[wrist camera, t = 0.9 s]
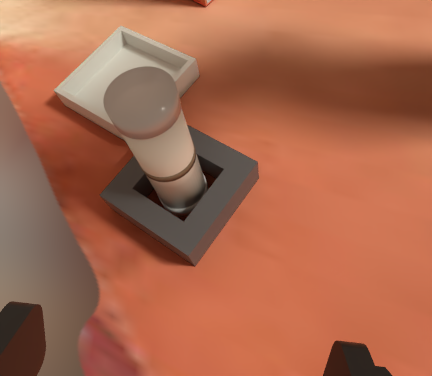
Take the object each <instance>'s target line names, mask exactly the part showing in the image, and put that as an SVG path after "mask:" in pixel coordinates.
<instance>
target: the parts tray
mask: <svg viewBox="0 0 432 376" xmlns="http://www.w3.org/2000/svg"><path fill="white" fill-rule="evenodd" d="M144 66H151V67H157V68H160V69H162V70H164V71H166V72H167V73H169V74H170V75H171V76H172V78H173V79H174V82H175V84H176V87H177V90H178V94H179V97H180V98H181V97H182V96H183V94H184V93H185V92H186V91H187V90H188V89H189V88H190V86H191V85H192V84H193V83H194V82H195V81H196V80H197V78H198V77H199V76H200V74H199V70H198V65H197V61H196V59H195V58H193V57H191V56H188V55H186V54H184V53H182V52H179V51H177V50H175V49H173V48H170V47H168V46H166V45H164V44H161V43H159V42H157V41H155V40H152V39H150V38H148V37H146V36H143V35H141V34H139V33H137V32H134V31H132V30H130V29H127V28H125V27H123V26H120V27H119V28H118V29H117V30H116V31H115V32H114V33H113V34H112V35H111V36H110V37H108V38H107V39H106V40H105V41H104V42H103V43H102V44H101V45H100V46H99V47H98V48H97V49H96V50H95V51H94V52H93V53H92V54H91V55H90V56H89V57H88V58H87V59H86V60H85V61H84V62H83V63H82V64H80V65H79V66H78V67H77V68H76V69H75V70H74V71H73V72H72V73H71V74H70V75H69V76H68V77H67V78H66V79H65V80H64V81H63V82H62V83H61V84H60V85H59V86H58V87H57V88H56V89H55V90H54V92H55V93H56V94H57V96H58V97H59V98H60V100H61V101H62V102H63V104H64V105H65V106H67V107H68V108H70V109H72V110H73V111H75V112H77V113H79V114H80V115H82V116H84V117H85V118H87V119H89V120H90V121H92V122H94V123H95V124H97V125H99V126H101V127H102V128H104V129H106V130H107V131H109V132H111V133H112V134H114V135H116V136H117V137H119V138H121V139H123V140H124V138H123V136H122V135H121V133H120V132H119V131H118V130H117V129H116V128H115V126H114V124H113V123H112V121H111V119H110V118H109V116H108V115H107V113H106V111H105V109H104V104H103V98H104V94H105V91H106V89H107V87H108V86H109V85H110V83H111V82H112V81H113V80H114V79H115V78H116V77H118V76H119V75H120V74H122V73H124V72H126V71H128V70H130V69H133V68H137V67H144ZM124 141H125V140H124Z"/></svg>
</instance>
